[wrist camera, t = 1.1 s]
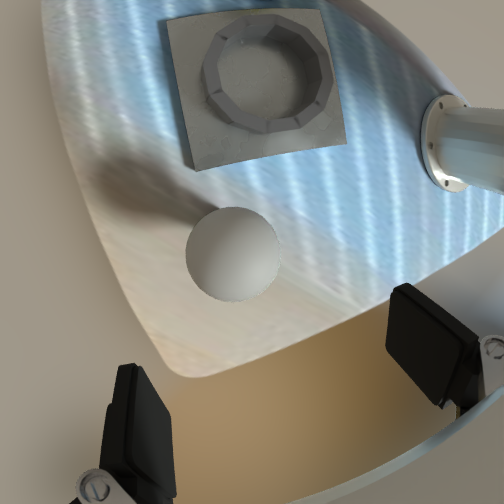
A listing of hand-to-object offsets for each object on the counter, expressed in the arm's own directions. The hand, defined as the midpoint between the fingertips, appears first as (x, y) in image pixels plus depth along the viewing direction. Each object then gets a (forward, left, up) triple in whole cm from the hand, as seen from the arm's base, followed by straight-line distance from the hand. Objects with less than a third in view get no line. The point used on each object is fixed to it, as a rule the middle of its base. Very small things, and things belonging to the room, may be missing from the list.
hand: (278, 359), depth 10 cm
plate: (-6, -12, -18) cm, 23 cm away
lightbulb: (0, 0, -18) cm, 18 cm away
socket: (-6, -12, -18) cm, 23 cm away
